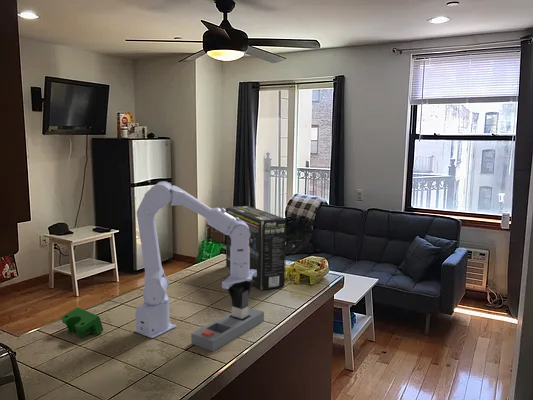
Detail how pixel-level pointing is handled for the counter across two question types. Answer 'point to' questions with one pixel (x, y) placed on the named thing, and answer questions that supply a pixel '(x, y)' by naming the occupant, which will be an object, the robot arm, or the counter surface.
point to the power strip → (225, 329)
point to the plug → (241, 306)
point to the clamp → (82, 322)
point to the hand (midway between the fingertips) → (240, 304)
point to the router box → (263, 245)
